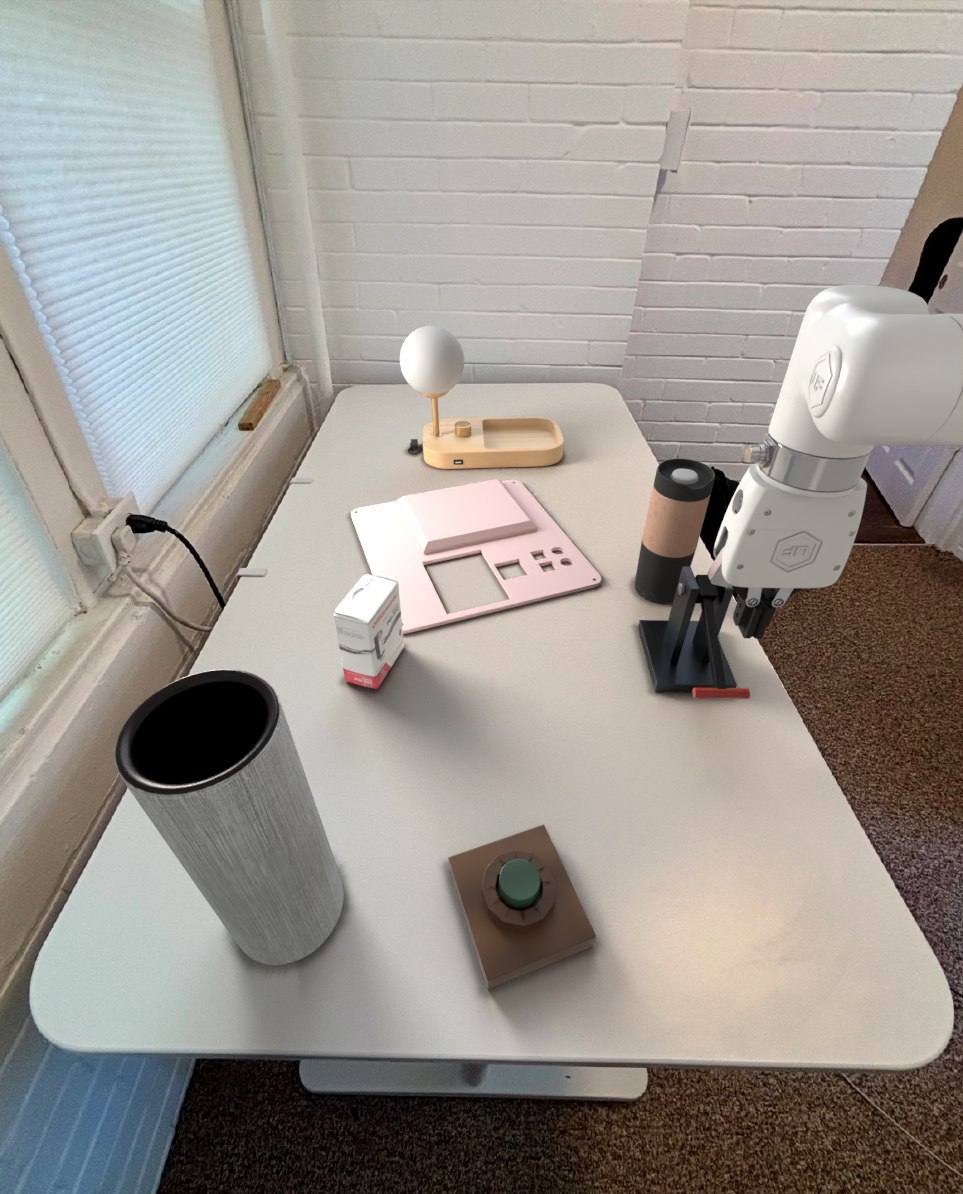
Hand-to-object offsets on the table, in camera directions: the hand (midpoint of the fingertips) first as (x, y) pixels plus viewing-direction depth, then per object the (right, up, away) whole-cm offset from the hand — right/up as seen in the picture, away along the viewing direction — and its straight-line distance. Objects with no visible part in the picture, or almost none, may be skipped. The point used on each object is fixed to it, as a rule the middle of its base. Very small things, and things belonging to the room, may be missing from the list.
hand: (747, 628), depth 59 cm
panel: (-29, +12, +41) cm, 52 cm away
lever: (0, -2, +11) cm, 11 cm away
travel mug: (0, +4, +32) cm, 32 cm away
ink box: (-41, -6, +20) cm, 46 cm away
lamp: (-26, +35, +69) cm, 81 cm away
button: (-23, -23, -6) cm, 33 cm away
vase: (-44, -26, -4) cm, 52 cm away
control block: (-23, -26, -4) cm, 35 cm away
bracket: (0, -5, +20) cm, 21 cm away
